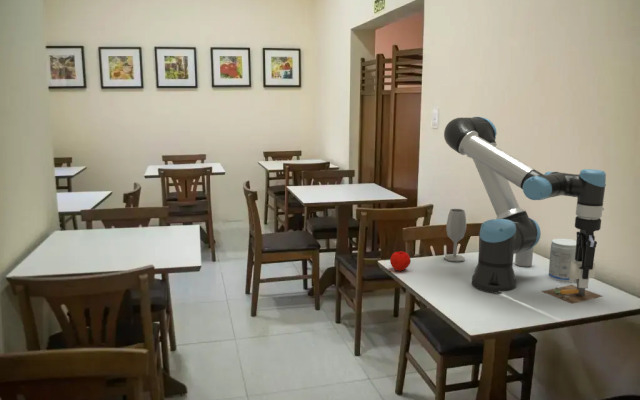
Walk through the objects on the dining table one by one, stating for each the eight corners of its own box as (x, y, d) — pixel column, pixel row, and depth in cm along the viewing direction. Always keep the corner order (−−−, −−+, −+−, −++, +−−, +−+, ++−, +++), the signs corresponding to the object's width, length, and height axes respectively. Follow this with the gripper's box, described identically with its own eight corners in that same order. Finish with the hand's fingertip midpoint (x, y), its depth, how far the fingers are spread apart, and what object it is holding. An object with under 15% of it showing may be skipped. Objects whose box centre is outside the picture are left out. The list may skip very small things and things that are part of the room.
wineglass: (467, 262, 210) (470, 212, 206) (446, 262, 210) (449, 212, 206) (462, 256, 219) (465, 207, 215) (441, 256, 219) (444, 207, 215)
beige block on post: (563, 296, 170) (566, 264, 168) (558, 293, 173) (561, 262, 171) (594, 294, 172) (598, 263, 170) (589, 292, 175) (592, 260, 173)
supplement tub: (562, 274, 197) (565, 237, 194) (582, 282, 188) (586, 243, 185) (542, 277, 193) (545, 239, 190) (561, 285, 184) (565, 246, 182)
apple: (405, 274, 195) (406, 256, 193) (386, 271, 199) (386, 252, 197) (413, 269, 202) (413, 250, 200) (394, 265, 205) (394, 247, 204)
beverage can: (533, 268, 204) (535, 238, 202) (516, 266, 205) (518, 237, 203) (530, 263, 210) (532, 234, 208) (513, 262, 211) (515, 233, 209)
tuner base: (572, 306, 165) (572, 301, 165) (541, 294, 176) (541, 289, 176) (602, 299, 172) (603, 294, 172) (571, 287, 183) (571, 283, 182)
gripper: (609, 223, 159) (601, 295, 163) (592, 212, 175) (585, 278, 179) (583, 222, 160) (576, 293, 165) (569, 211, 176) (562, 276, 181)
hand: (581, 285), depth 172 cm, fingers closed on beige block on post, 4 cm apart
